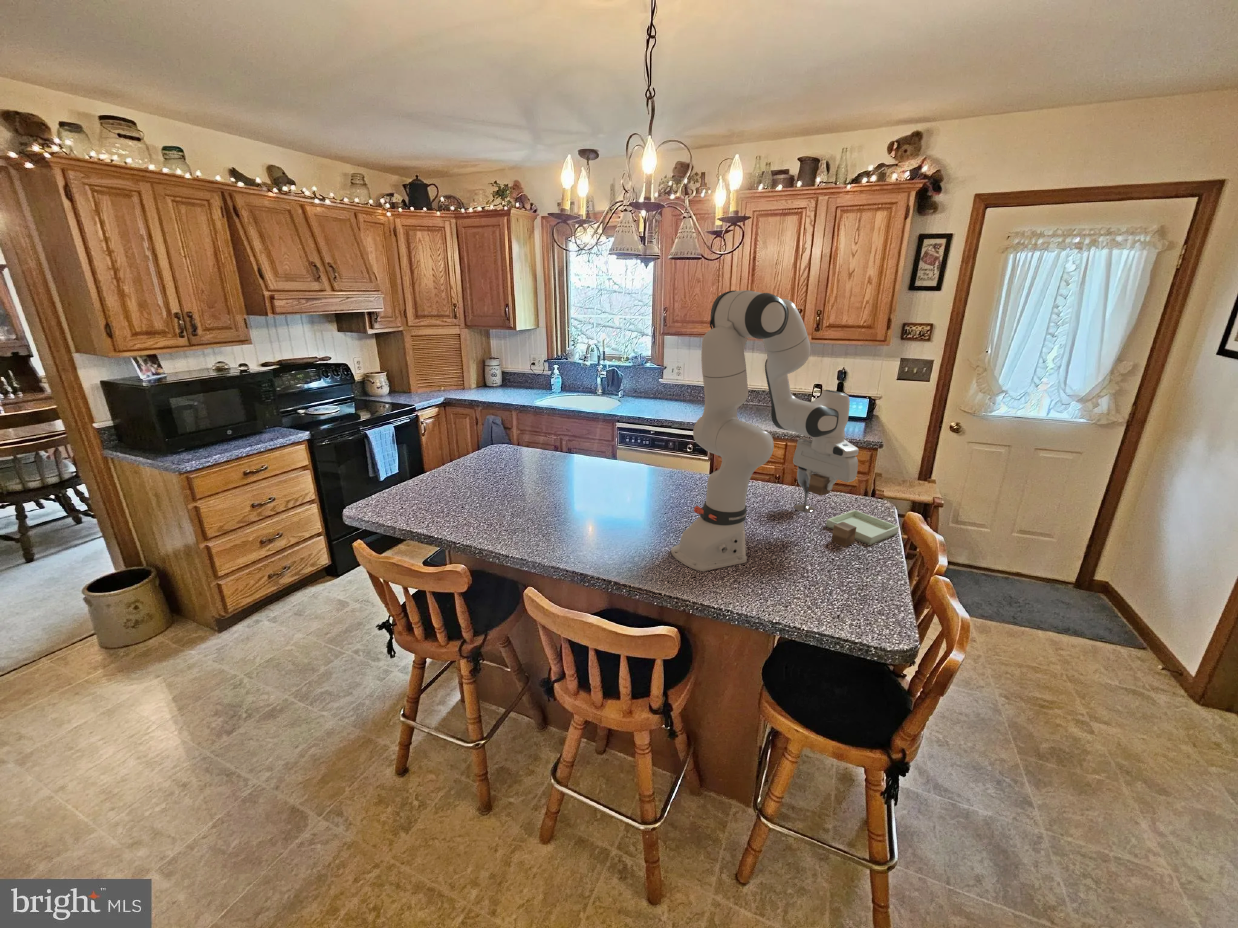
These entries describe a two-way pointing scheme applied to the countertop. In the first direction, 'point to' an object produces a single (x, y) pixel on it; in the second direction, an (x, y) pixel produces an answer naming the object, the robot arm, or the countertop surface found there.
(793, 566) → the countertop surface
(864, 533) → the tray
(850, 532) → the block
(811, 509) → the wine glass
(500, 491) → the countertop surface
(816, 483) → the block
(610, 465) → the countertop surface
